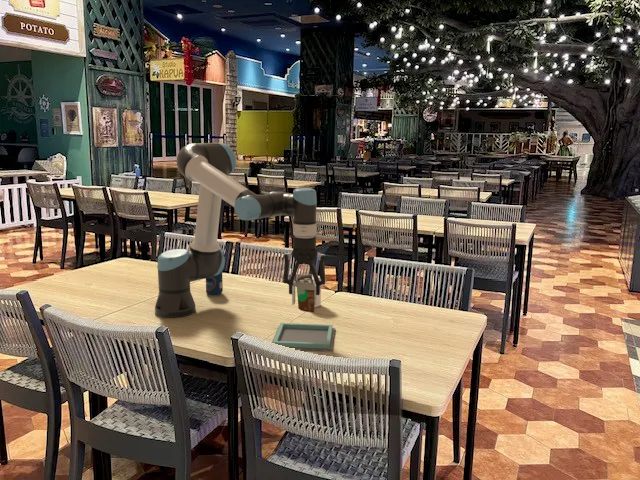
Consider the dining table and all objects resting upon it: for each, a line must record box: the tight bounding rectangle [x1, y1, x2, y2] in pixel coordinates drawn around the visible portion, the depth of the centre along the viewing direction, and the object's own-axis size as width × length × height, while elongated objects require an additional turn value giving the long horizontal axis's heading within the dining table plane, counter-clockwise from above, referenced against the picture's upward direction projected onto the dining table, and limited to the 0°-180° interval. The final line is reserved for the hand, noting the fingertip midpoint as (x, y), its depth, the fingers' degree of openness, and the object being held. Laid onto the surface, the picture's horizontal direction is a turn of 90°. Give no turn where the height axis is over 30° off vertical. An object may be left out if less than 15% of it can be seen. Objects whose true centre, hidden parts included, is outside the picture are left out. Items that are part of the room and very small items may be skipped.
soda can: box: [205, 271, 224, 297], centre depth 240 cm, size 7×7×12 cm
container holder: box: [271, 322, 336, 352], centre depth 192 cm, size 20×20×2 cm
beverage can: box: [307, 273, 322, 309], centre depth 226 cm, size 8×8×12 cm
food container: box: [294, 274, 315, 313], centre depth 189 cm, size 12×6×10 cm, turn 5°
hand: (304, 303), depth 190 cm, fingers closed on food container, 6 cm apart
